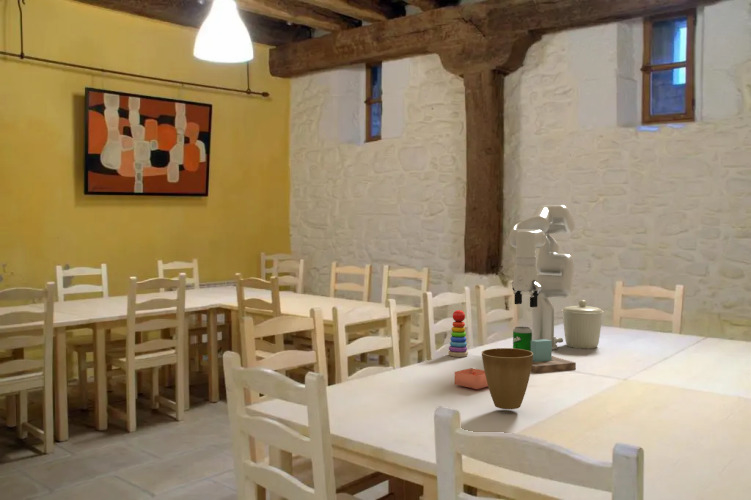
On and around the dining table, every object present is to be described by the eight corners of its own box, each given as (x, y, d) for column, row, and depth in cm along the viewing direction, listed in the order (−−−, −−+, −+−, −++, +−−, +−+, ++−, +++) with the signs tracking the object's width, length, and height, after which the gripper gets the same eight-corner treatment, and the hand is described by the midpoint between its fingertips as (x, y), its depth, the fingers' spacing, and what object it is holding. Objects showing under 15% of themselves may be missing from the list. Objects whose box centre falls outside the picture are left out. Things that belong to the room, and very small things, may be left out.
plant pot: (496, 397, 212) (497, 346, 211) (541, 405, 202) (542, 351, 202) (471, 407, 200) (471, 352, 200) (517, 416, 191) (518, 359, 190)
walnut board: (545, 360, 271) (545, 350, 271) (575, 369, 255) (575, 358, 255) (507, 364, 264) (507, 353, 264) (535, 373, 248) (535, 362, 248)
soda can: (530, 355, 282) (530, 326, 282) (532, 358, 275) (533, 329, 275) (511, 355, 283) (512, 326, 283) (513, 358, 276) (514, 328, 275)
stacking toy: (468, 357, 277) (469, 311, 276) (449, 357, 277) (449, 311, 277) (466, 354, 285) (467, 309, 284) (447, 353, 285) (447, 309, 284)
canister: (551, 346, 305) (552, 298, 305) (583, 343, 313) (584, 297, 312) (580, 352, 289) (580, 302, 288) (612, 349, 297) (613, 301, 296)
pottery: (477, 389, 224) (477, 359, 223) (454, 384, 231) (454, 355, 230) (509, 380, 236) (509, 352, 236) (487, 376, 243) (487, 348, 243)
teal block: (530, 366, 260) (530, 340, 260) (545, 365, 263) (546, 339, 262) (535, 368, 257) (536, 341, 256) (551, 366, 259) (551, 340, 259)
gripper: (504, 261, 275) (504, 303, 276) (532, 264, 259) (531, 309, 260) (520, 260, 278) (520, 302, 279) (547, 263, 262) (547, 307, 264)
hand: (525, 305), depth 270 cm, fingers open, 9 cm apart
